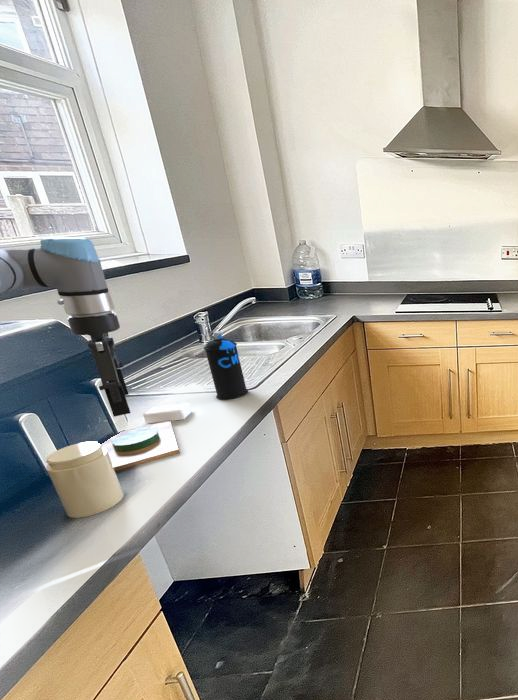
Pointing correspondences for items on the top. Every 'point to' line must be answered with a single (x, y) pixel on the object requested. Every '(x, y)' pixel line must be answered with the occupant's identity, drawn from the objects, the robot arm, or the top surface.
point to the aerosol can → (225, 367)
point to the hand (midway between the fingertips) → (121, 404)
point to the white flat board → (150, 453)
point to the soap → (167, 413)
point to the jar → (84, 479)
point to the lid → (135, 440)
